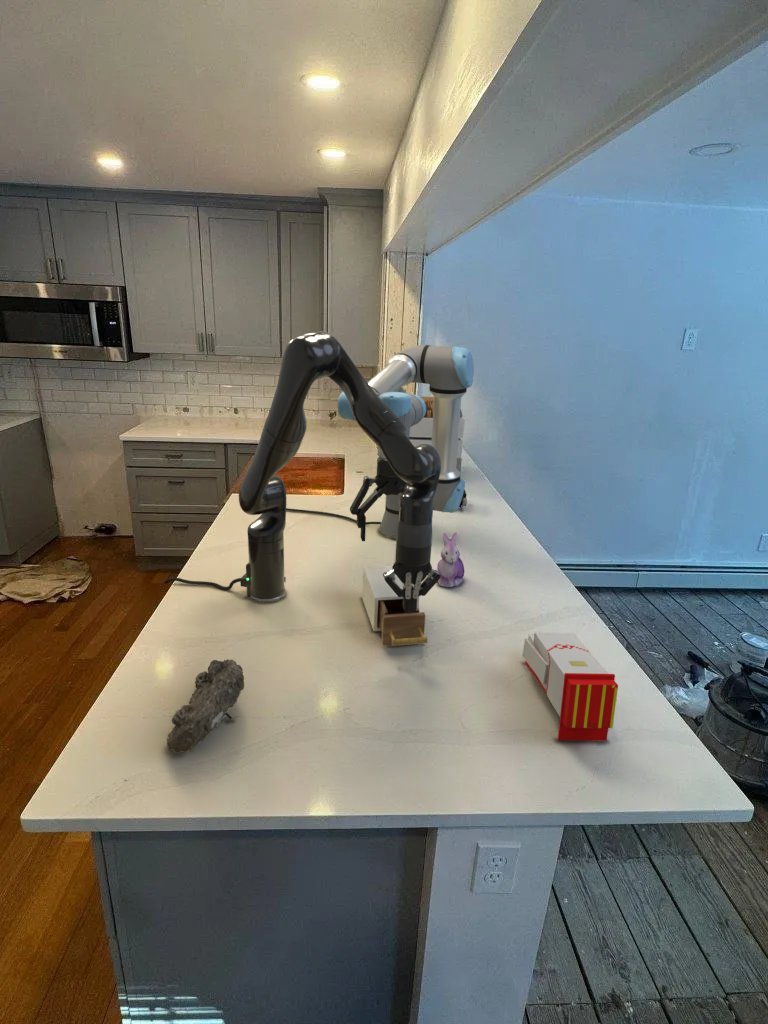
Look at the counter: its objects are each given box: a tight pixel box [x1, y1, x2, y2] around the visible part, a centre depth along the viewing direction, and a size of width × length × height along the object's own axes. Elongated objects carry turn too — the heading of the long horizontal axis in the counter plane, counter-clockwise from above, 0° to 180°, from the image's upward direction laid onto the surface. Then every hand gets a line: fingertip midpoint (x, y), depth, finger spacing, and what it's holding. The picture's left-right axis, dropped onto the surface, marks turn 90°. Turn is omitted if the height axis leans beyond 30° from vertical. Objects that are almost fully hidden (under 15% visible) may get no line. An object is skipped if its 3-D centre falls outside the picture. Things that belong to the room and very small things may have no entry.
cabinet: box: [361, 565, 420, 632], centre depth 146 cm, size 17×11×9 cm, turn 12°
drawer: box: [377, 599, 428, 647], centre depth 136 cm, size 22×10×8 cm, turn 12°
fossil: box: [166, 658, 245, 754], centre depth 106 cm, size 22×10×15 cm
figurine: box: [436, 531, 465, 588], centre depth 164 cm, size 9×10×15 cm
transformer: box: [397, 386, 465, 475], centre depth 268 cm, size 34×33×41 cm
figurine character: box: [458, 488, 468, 511], centre depth 230 cm, size 7×8×15 cm
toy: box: [522, 631, 619, 742], centre depth 117 cm, size 12×13×30 cm
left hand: (409, 611), depth 126 cm, fingers closed
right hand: (389, 538), depth 145 cm, fingers open, 13 cm apart
